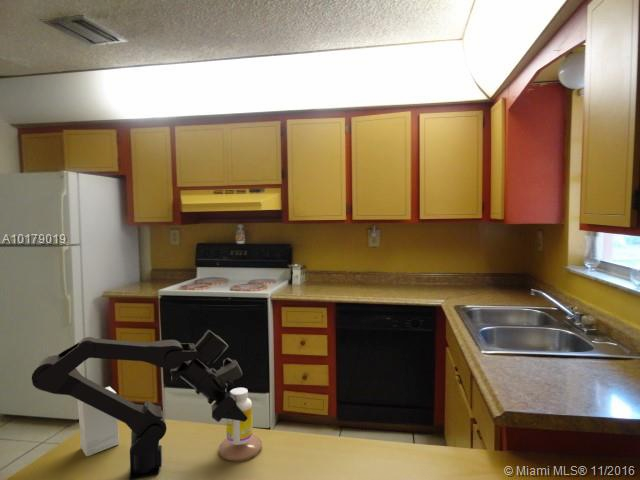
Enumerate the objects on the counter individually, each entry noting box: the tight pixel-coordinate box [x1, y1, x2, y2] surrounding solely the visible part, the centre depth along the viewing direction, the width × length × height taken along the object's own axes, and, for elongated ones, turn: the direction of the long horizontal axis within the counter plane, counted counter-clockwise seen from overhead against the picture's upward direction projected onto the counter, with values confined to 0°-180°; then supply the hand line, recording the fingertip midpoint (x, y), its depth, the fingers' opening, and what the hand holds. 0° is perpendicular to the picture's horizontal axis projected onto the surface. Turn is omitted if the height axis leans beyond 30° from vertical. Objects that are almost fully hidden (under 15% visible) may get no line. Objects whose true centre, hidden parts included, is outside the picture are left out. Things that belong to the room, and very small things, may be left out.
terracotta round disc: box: [218, 434, 263, 462], centre depth 104 cm, size 11×11×1 cm
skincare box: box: [77, 385, 120, 457], centre depth 106 cm, size 8×6×15 cm
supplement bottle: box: [225, 387, 253, 445], centre depth 104 cm, size 7×7×13 cm
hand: (244, 413), depth 104 cm, fingers closed on supplement bottle, 7 cm apart
